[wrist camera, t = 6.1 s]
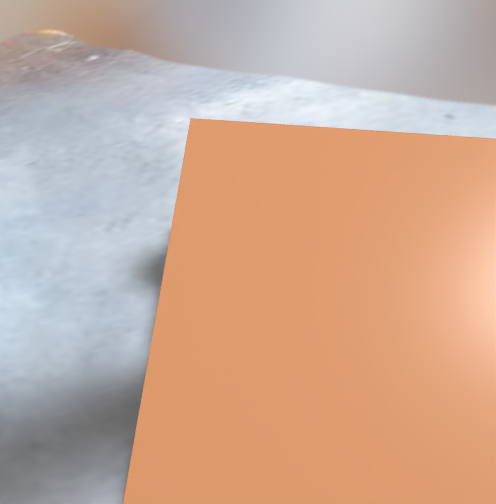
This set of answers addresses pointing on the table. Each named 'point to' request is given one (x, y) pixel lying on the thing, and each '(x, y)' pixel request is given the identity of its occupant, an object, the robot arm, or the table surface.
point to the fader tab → (324, 322)
